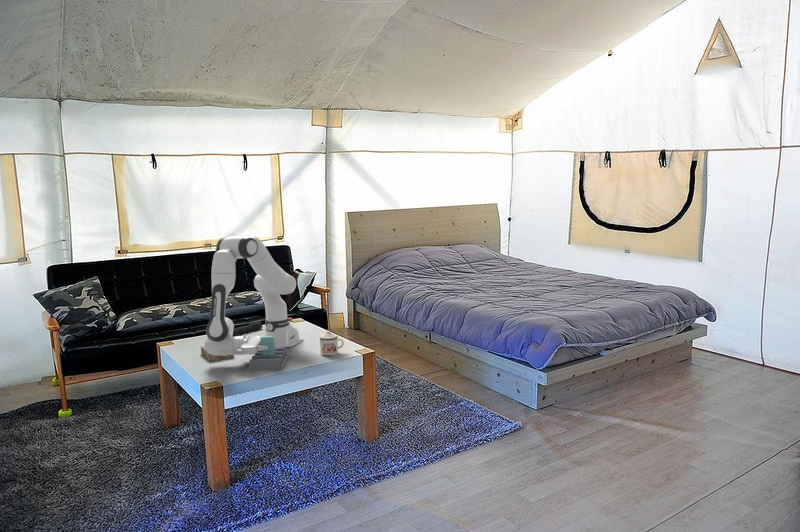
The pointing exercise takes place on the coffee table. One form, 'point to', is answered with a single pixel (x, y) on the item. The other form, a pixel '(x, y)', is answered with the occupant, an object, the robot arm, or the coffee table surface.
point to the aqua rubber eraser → (271, 345)
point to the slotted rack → (268, 360)
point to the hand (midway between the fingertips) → (269, 344)
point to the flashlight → (247, 328)
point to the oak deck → (214, 357)
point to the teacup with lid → (329, 344)
